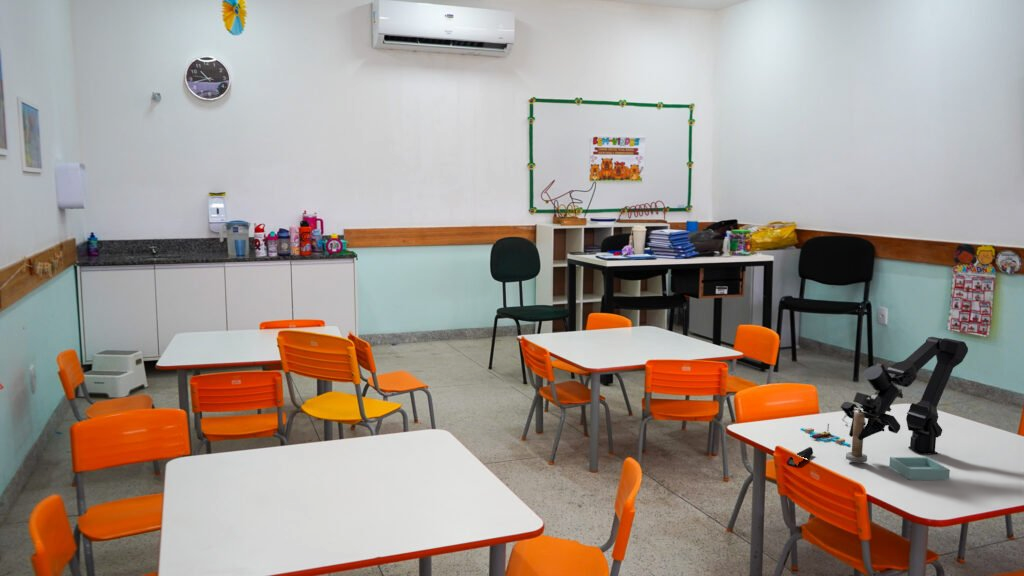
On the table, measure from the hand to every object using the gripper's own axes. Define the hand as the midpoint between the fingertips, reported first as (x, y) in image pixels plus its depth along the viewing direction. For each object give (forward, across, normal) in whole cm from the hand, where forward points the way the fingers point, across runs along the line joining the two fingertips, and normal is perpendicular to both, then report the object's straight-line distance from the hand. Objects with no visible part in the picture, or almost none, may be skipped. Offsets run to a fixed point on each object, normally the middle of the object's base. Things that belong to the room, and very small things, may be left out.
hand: (854, 437), depth 233 cm
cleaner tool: (+4, 0, +6) cm, 7 cm away
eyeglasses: (-19, -29, +32) cm, 47 cm away
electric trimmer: (+16, -9, -3) cm, 18 cm away
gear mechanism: (-1, -23, +14) cm, 27 cm away
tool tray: (-3, +13, +15) cm, 20 cm away
